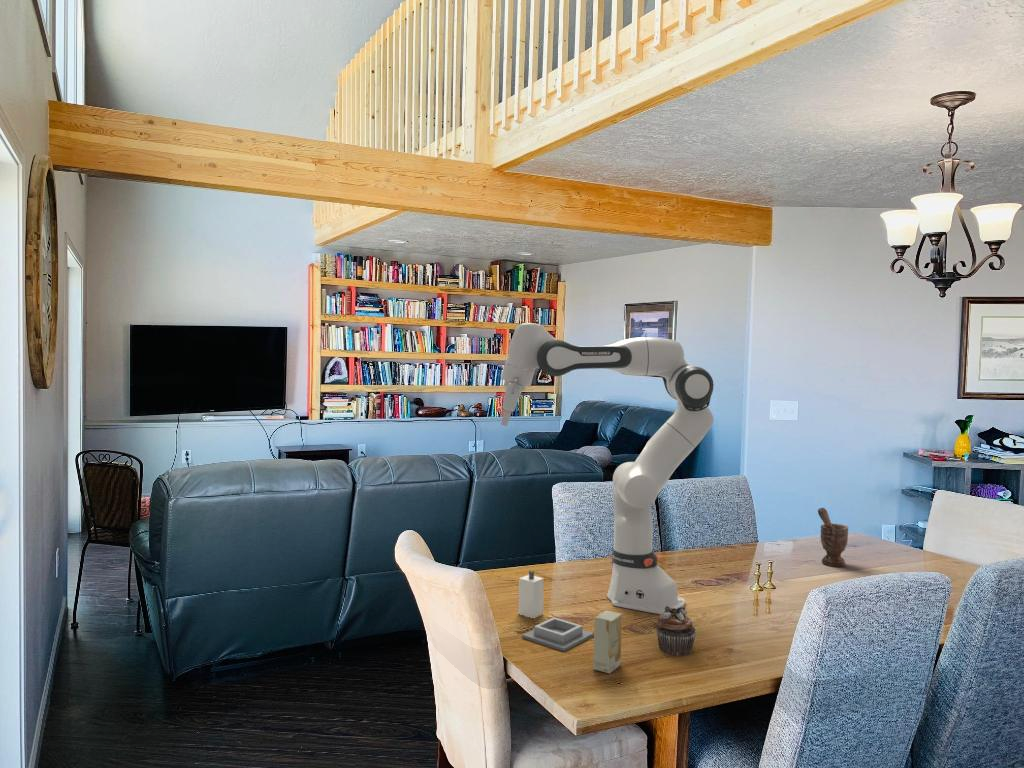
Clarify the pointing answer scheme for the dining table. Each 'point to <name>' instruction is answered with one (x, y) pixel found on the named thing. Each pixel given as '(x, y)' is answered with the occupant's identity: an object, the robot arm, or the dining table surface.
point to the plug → (531, 595)
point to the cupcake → (675, 632)
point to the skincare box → (607, 641)
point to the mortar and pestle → (832, 540)
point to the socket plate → (558, 634)
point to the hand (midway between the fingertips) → (504, 423)
